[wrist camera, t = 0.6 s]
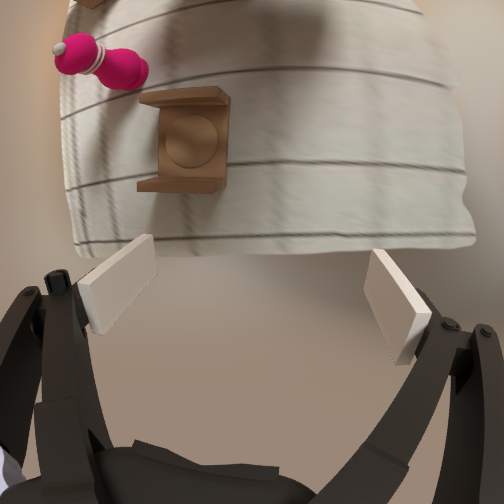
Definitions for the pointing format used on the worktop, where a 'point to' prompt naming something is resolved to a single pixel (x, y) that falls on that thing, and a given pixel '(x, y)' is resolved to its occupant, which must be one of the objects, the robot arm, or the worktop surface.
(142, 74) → the pepper mill
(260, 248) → the worktop surface
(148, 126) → the worktop surface
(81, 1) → the wooden block
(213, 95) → the holder
